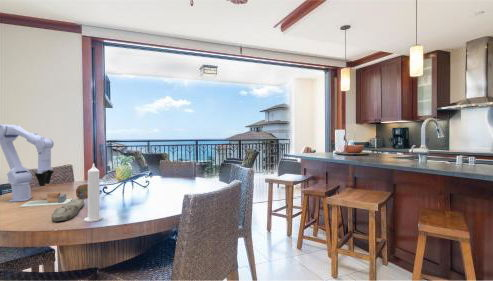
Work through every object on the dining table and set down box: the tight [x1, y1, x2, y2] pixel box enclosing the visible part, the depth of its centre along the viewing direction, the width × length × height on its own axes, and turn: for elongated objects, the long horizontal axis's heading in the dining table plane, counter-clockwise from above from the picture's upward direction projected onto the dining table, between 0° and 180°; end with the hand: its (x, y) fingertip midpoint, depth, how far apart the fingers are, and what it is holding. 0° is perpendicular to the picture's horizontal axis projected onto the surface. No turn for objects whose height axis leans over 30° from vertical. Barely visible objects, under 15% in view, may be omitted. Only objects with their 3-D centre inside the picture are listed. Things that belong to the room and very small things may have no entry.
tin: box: [75, 182, 88, 200], centre depth 163 cm, size 15×3×8 cm, turn 168°
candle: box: [83, 162, 104, 223], centre depth 120 cm, size 7×7×25 cm
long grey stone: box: [51, 198, 85, 222], centre depth 131 cm, size 35×5×10 cm
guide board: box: [18, 193, 74, 208], centre depth 148 cm, size 12×21×4 cm, turn 110°
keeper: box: [46, 191, 61, 203], centre depth 149 cm, size 4×5×4 cm
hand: (44, 184), depth 151 cm, fingers open, 7 cm apart
